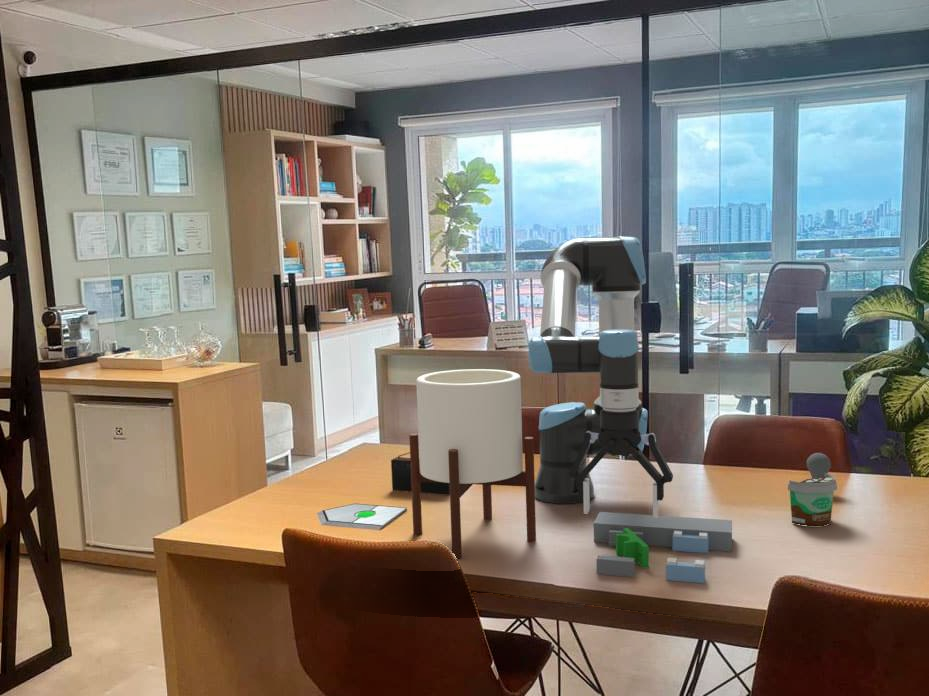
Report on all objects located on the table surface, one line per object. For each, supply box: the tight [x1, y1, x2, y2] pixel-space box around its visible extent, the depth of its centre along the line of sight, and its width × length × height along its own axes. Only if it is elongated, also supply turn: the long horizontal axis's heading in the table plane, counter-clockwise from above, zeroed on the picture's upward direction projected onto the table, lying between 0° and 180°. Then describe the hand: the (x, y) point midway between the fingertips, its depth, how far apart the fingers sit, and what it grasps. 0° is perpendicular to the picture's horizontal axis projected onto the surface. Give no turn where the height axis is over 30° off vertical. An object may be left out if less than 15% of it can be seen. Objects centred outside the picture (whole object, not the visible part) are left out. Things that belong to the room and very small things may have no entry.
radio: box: [390, 451, 450, 496], centre depth 220 cm, size 19×3×15 cm, turn 68°
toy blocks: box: [593, 511, 733, 584], centre depth 170 cm, size 28×26×4 cm
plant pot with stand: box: [408, 368, 537, 561], centre depth 183 cm, size 22×22×36 cm
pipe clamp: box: [615, 528, 650, 569], centre depth 169 cm, size 11×4×5 cm, turn 9°
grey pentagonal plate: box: [316, 503, 408, 531], centre depth 203 cm, size 17×22×2 cm
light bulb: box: [806, 452, 832, 479], centre depth 208 cm, size 6×6×10 cm
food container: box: [787, 473, 838, 527], centre depth 185 cm, size 12×6×10 cm, turn 118°
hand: (620, 514), depth 167 cm, fingers open, 13 cm apart
